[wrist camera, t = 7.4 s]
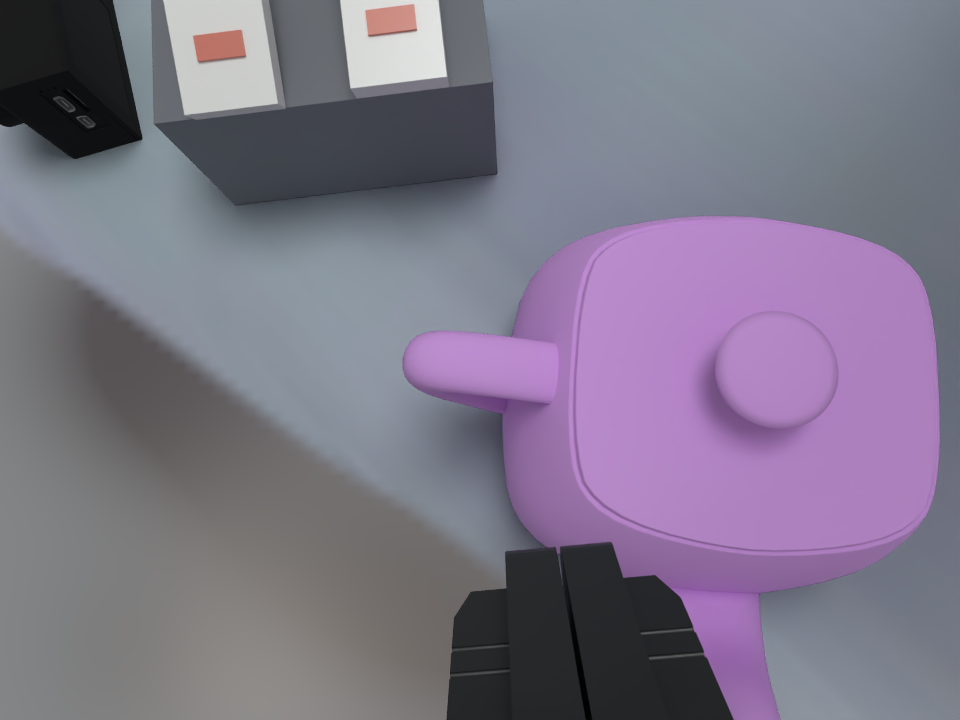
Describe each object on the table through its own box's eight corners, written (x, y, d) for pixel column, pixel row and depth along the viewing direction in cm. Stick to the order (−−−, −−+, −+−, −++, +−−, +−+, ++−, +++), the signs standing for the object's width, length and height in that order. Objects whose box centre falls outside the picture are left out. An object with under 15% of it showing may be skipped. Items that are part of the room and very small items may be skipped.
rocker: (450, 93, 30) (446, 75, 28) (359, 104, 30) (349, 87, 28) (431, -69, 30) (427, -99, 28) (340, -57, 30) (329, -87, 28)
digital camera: (25, 15, 42) (-70, -77, 35) (111, -10, 42) (31, -107, 35) (54, 166, 40) (-42, 101, 33) (143, 140, 40) (66, 69, 33)
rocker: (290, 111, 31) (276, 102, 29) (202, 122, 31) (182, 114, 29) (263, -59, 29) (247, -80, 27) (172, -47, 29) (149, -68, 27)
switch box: (497, 173, 38) (492, 82, 30) (235, 205, 39) (153, 123, 30) (478, 16, 40) (469, -115, 31) (228, 47, 41) (149, -73, 32)
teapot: (447, 249, 38) (405, 101, 23) (837, 271, 37) (1058, 130, 22) (409, 685, 34) (329, 844, 19) (843, 727, 33) (1116, 931, 18)
